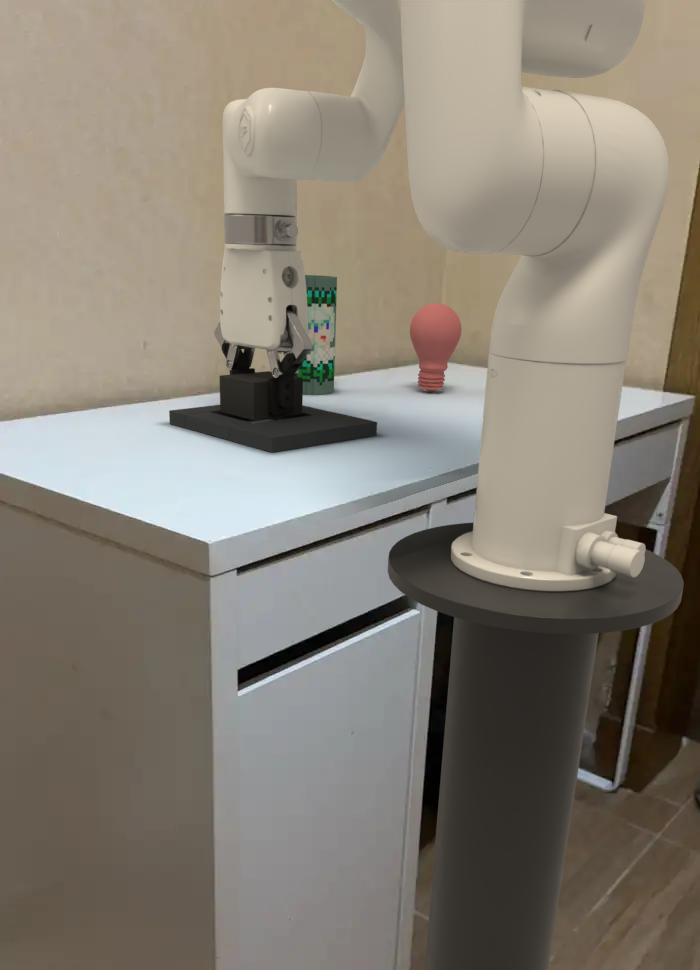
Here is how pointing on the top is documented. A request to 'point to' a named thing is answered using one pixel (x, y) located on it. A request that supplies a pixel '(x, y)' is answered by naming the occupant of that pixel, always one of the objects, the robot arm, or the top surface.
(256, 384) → the black block
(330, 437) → the base pad
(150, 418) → the top surface
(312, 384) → the can
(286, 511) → the top surface
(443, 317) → the light bulb
